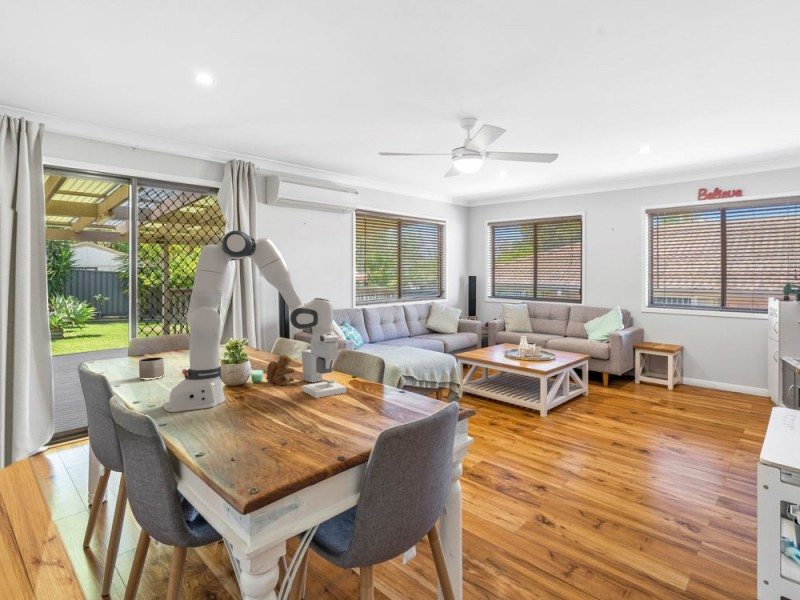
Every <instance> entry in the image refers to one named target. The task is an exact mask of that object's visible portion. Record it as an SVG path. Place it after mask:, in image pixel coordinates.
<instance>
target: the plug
mask: <svg viewBox="0 0 800 600" xmlns="http://www.w3.org/2000/svg"><path fill="white" fill-rule="evenodd" d="M332 361H333V360H331V362H330V368H329V369H326V368H325V366H324V364H325V363H326V361H325V358H322V357H321V358H316V372H318V373H320V374H322V375H323V374H329V373H330V374H331V373H332V372H333V366H332V364H333V362H332Z"/></svg>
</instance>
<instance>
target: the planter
mask: <svg viewBox="0 0 800 600" xmlns="http://www.w3.org/2000/svg"><path fill="white" fill-rule="evenodd" d="M164 365H165V363H164V357H157V356H156V357H154V356H153V357H146V358H141V359H139V360H138V371H139V372H138V373H139V374H138V376H139V379H140V378H155V377H160V376H163V375H164V376H165V366H164Z"/></svg>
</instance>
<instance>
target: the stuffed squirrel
mask: <svg viewBox="0 0 800 600" xmlns="http://www.w3.org/2000/svg"><path fill="white" fill-rule="evenodd" d="M276 358H277V361H275V360H274V361H270V362H269V363H268V365H267V368H266V369H267V370H266V378H265V379H266V381H267V383H269V384H275V385H277V386H288V385H289V383H290V381H291V382H293V381H295V378H294V377H291V375H290V374H294V373H295V369H294V368H292V367H290V364H292V362H293V361H292V359H291V357H289V356H288V355H286V354H282V355H279V356H277V357H276Z"/></svg>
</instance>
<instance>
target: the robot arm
mask: <svg viewBox="0 0 800 600" xmlns="http://www.w3.org/2000/svg"><path fill="white" fill-rule="evenodd" d="M221 241H222V242H221V243H220V244H214V243H213V244H212V243H211V244H207V245H204V246H203V247H202V248H201V250H200V253H199V256H198V260H197V264H196V269H195V275H194V281H193V286H192V292H191V295H190V300H189V303H188V310H187V315H186V323H187V325H188V326H189V347H188V350H189V368H188V369H186V368H184V369H182V370H181V374H182V375H184V379H183V380H182V381H180V382H179V383H178V384H177V385H175V386H174V387H173V388H172V389H171V391H170V394H169V400H168V401H165V402H164V403H163V406H162V408H163V410H164V411H166V412H168V413H169V412H170V413H177V412H183V411H193V410H200V409H207V408H208V409H209V408H214V407H216V406H217V405H219V404H222V403H224V402H225V401H226V397H225V394H224V391H223V386H222V378H223V377H222V376H223V374H222V366H221V363H220V362H221V360H220V359H221V358H220V340H221V317H220V314H219V312H218V310H219V307H220V302H221V299H222V296H223V291H224V286H225V280H226V275H227V269H228V264H229V262H230V261H238V260H239V261H240V260H244V259H245V258H250V259H251V260H252V261H253V262H254V263H255V265H256V266H257V269H258V270H259V273H261V275H262V276H263V278H264V279H265V280H266V282H267V283H269V285H271V286H273V287H274V288H275V289H276V290H277V291H278V292H279V294H280V295H281V297H282V298H283V300H284V301H285V303H286V305H287V307H288V309H289V313H290V314H289V316H290V317H289V319H290V323H291V325H292V326H293V327H294V328H295V329H298V330H305V329H309V328H312V338H311V340H310V349H311V354H313V355H316V356H317V358H321V357H322V358H325V361H326V363H325V364H324V366H325V368H326V369H329V368H330V362H331V360H332V361H335V360H338V356H339V343H338V342H339V339H340V338H339V335H338V334H337V333H335V331H334V326H333V320H334V310H333V308H334V307H333V304H332V302H331V301H330V300H328V298H327V299H326V298H322V297H315V298H313V299H312V300H310V301H309V302H307V303H304V302H303V300H302V299H301V297H300V296H299V293H298V292H297V290H296V289H295V287H294V284H293V282H292V278H291V273H290V269H289V266H288V264H287V262H286V260H285V258H284V256H283V255H282V253H281V251H280V250H279V249H278V247H277V245H276V244H275V243H274V242H273V241H272V239H270V238H268V237H260V238H258V239H255V238H254V237H252V236H250V235H248V234H247V233H246V232H243V231H240V230H231V231H228V232H227V233H226V234H225V235H224V237H222V240H221Z"/></svg>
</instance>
